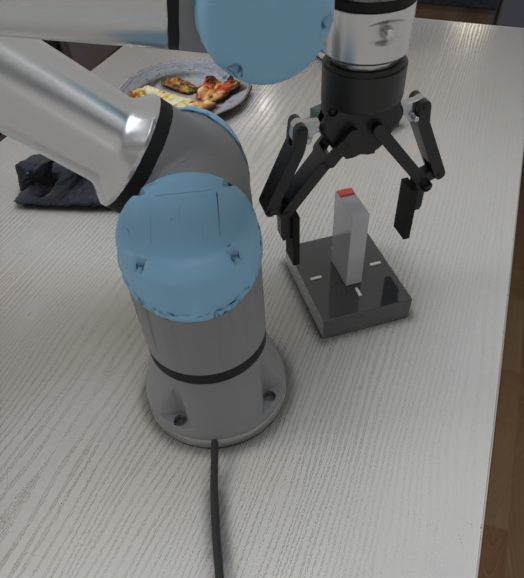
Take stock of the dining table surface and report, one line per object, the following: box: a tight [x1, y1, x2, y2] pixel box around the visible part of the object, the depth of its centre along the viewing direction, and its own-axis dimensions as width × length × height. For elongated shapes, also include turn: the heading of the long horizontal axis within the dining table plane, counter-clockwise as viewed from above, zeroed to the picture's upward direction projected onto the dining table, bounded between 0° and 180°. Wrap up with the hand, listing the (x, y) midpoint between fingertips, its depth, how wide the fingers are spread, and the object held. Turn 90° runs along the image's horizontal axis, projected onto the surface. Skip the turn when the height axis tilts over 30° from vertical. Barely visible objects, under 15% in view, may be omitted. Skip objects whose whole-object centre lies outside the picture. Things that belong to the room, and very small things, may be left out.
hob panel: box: [285, 232, 413, 339], centre depth 68 cm, size 14×11×3 cm
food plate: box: [117, 58, 253, 116], centre depth 103 cm, size 25×23×4 cm
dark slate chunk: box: [13, 153, 105, 208], centre depth 85 cm, size 15×22×5 cm
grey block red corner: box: [331, 187, 371, 286], centre depth 63 cm, size 5×2×10 cm, turn 17°
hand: (347, 244), depth 64 cm, fingers open, 13 cm apart
